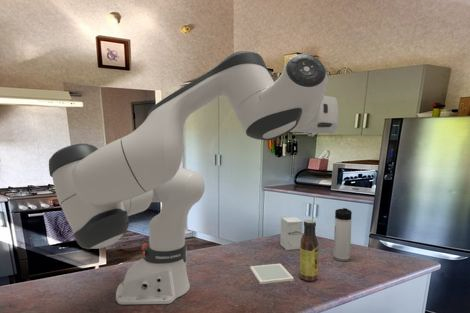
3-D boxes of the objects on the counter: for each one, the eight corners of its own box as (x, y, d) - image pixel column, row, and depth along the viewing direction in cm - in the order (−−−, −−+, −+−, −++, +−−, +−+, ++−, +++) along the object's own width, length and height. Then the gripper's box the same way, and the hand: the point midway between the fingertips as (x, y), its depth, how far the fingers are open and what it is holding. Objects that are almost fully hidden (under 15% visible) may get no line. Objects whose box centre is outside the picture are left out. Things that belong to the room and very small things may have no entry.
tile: (260, 284, 99) (260, 281, 99) (250, 268, 110) (250, 266, 110) (293, 280, 101) (293, 278, 101) (280, 265, 113) (280, 263, 113)
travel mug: (351, 257, 121) (353, 209, 120) (348, 263, 116) (350, 212, 115) (335, 254, 125) (337, 207, 123) (331, 259, 119) (333, 210, 118)
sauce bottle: (318, 282, 100) (320, 224, 99) (299, 280, 101) (301, 223, 100) (317, 274, 106) (318, 219, 105) (299, 272, 108) (300, 218, 106)
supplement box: (286, 250, 128) (287, 221, 127) (280, 244, 135) (280, 217, 134) (302, 249, 130) (303, 221, 129) (295, 243, 137) (295, 216, 136)
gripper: (250, 121, 66) (253, 142, 80) (344, 124, 64) (331, 145, 77) (251, 96, 68) (254, 120, 81) (344, 98, 66) (331, 123, 79)
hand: (292, 133), depth 79 cm, fingers open, 8 cm apart
